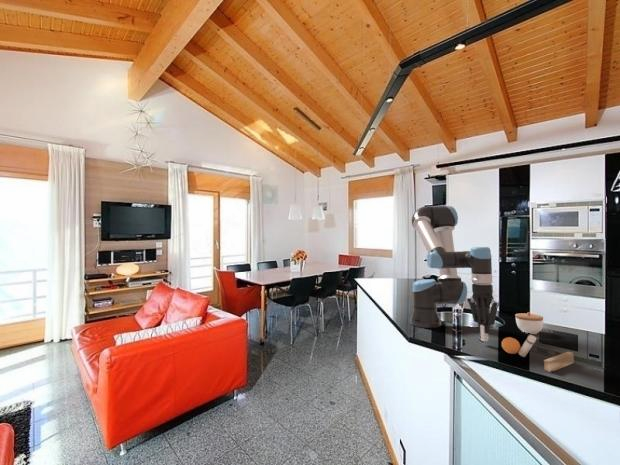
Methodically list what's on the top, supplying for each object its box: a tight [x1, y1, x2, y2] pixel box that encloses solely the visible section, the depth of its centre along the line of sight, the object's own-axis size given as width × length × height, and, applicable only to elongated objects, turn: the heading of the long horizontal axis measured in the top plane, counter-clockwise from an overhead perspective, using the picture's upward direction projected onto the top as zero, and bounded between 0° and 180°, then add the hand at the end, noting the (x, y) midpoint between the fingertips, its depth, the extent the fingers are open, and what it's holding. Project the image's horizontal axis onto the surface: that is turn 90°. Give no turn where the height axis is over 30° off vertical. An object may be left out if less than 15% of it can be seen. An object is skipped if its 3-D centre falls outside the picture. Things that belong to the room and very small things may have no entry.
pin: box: [517, 334, 537, 358], centre depth 111 cm, size 2×2×8 cm
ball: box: [501, 336, 521, 355], centre depth 116 cm, size 6×6×6 cm
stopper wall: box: [543, 351, 575, 373], centre depth 102 cm, size 2×16×4 cm, turn 117°
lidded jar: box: [514, 311, 544, 335], centre depth 142 cm, size 11×11×9 cm
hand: (484, 340), depth 125 cm, fingers closed
